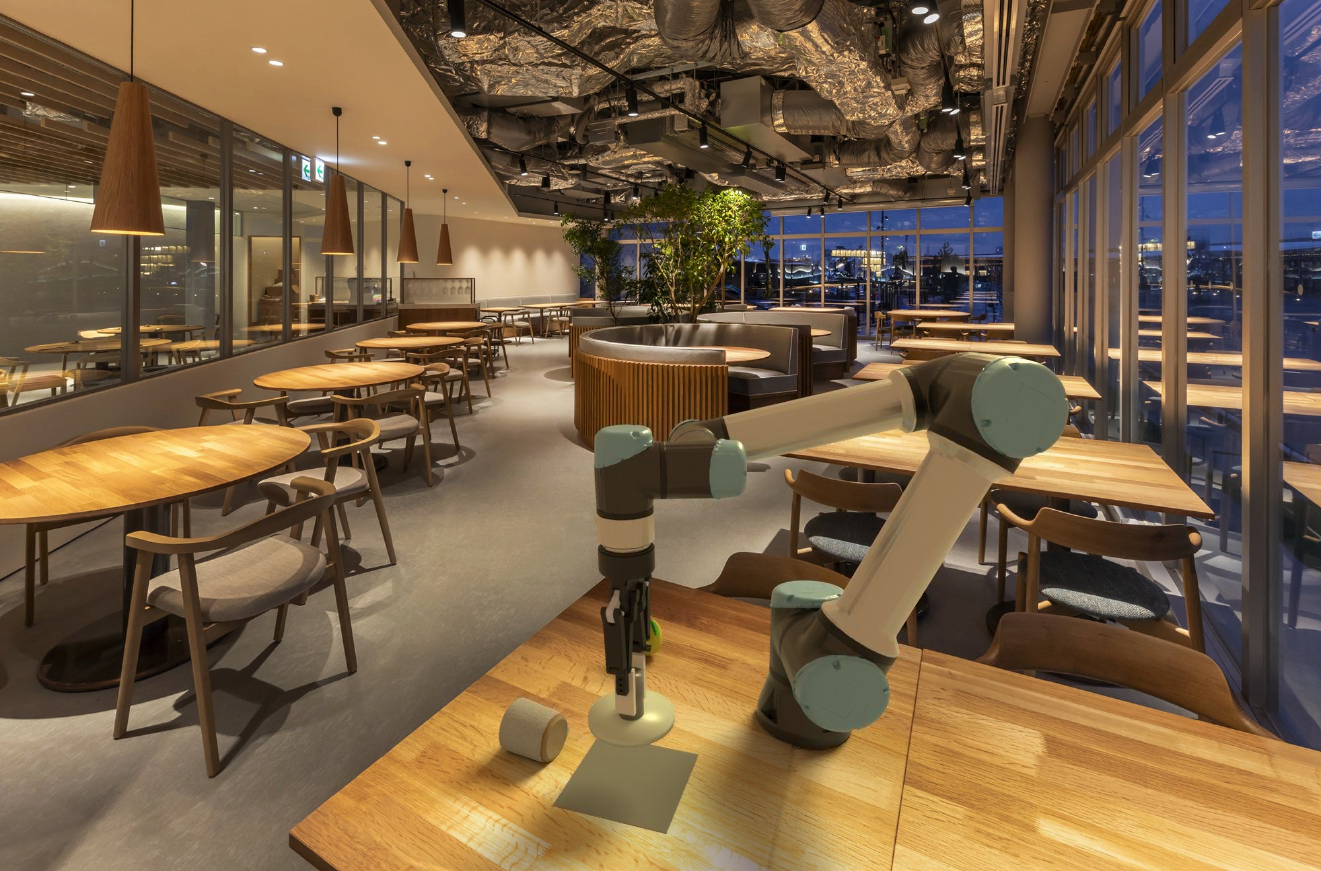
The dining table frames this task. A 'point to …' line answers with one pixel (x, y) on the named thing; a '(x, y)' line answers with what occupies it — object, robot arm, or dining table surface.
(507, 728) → the ceramic mug
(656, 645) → the lemon
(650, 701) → the lid
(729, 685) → the dining table surface
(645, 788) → the mat
